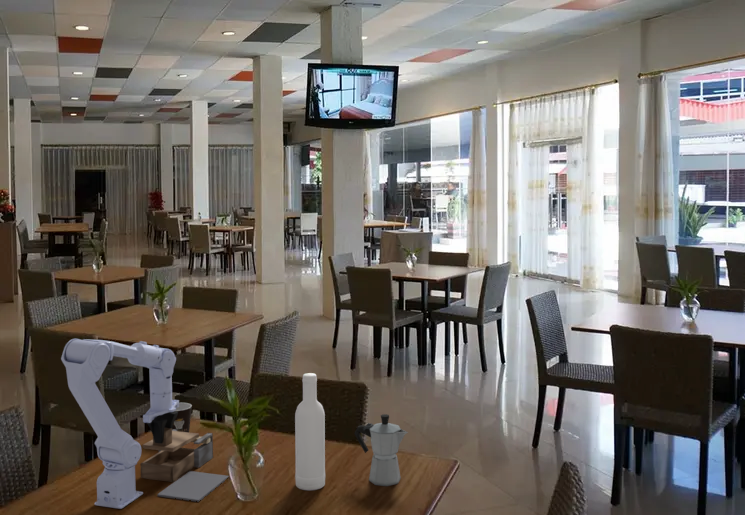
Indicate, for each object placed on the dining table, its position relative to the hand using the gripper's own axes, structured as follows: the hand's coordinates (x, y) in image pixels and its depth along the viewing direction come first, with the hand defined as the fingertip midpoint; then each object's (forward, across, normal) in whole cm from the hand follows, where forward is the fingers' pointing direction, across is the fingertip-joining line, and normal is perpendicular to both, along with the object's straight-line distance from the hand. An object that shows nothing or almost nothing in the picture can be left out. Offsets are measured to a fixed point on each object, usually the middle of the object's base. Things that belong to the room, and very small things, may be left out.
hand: (162, 440), depth 198 cm
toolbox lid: (+2, +4, 0) cm, 5 cm away
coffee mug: (+11, +29, +14) cm, 34 cm away
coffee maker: (+11, +15, -57) cm, 60 cm away
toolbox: (+10, +7, +1) cm, 13 cm away
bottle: (+11, +6, -40) cm, 42 cm away
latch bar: (+5, +15, +1) cm, 15 cm away
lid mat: (+10, -3, -11) cm, 16 cm away
